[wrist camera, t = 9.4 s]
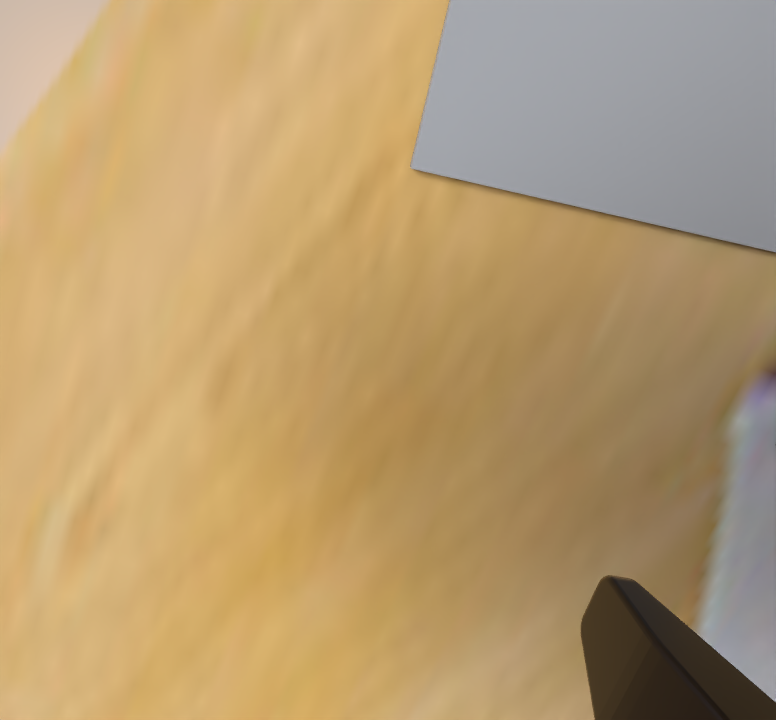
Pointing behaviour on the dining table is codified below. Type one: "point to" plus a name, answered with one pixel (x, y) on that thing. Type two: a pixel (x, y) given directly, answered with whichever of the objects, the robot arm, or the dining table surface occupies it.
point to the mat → (613, 108)
